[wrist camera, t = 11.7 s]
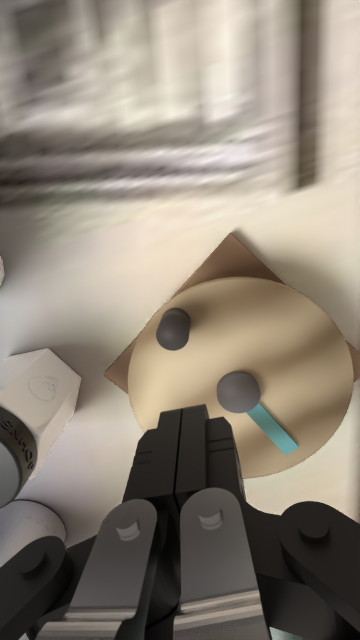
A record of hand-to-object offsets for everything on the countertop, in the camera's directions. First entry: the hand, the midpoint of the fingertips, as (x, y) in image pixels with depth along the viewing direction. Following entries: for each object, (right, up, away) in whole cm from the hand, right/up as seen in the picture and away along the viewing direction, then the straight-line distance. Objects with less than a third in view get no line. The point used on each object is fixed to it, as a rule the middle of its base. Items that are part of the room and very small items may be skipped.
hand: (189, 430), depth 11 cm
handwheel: (+5, -2, +19) cm, 20 cm away
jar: (-15, -3, +24) cm, 29 cm away
